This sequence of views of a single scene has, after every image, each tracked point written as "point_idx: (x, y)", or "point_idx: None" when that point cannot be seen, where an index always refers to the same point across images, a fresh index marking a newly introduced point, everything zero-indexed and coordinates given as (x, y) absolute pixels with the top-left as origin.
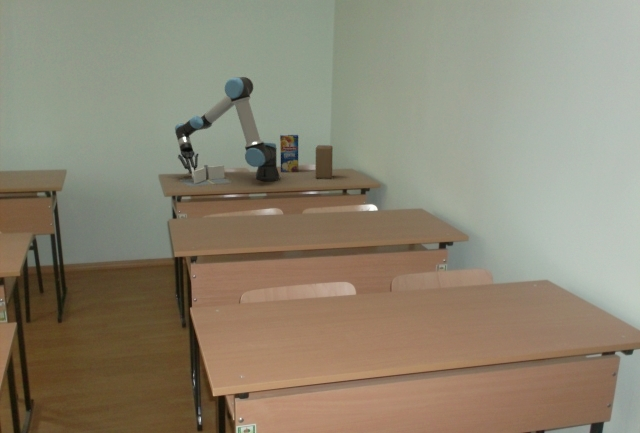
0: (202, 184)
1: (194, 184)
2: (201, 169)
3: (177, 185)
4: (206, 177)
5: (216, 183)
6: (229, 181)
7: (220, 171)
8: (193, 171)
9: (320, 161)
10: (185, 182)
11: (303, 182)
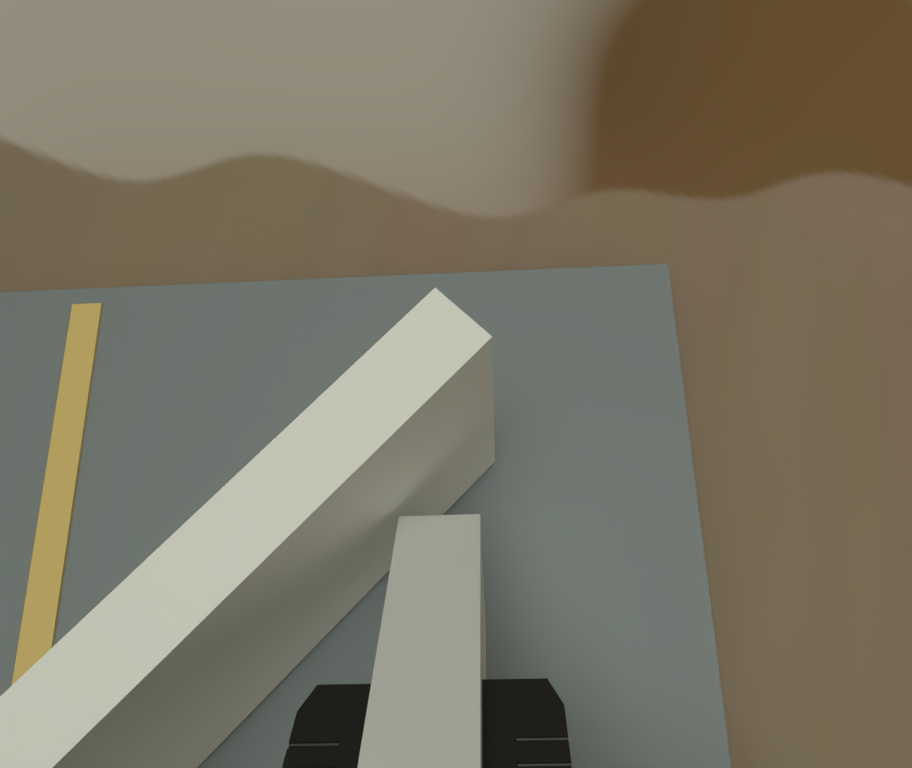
0: (329, 336)
1: (498, 402)
2: (39, 668)
3: (900, 562)
4: None
5: (16, 323)
6: None
7: None
8: (489, 342)
9: None
10: (664, 765)
11: None
